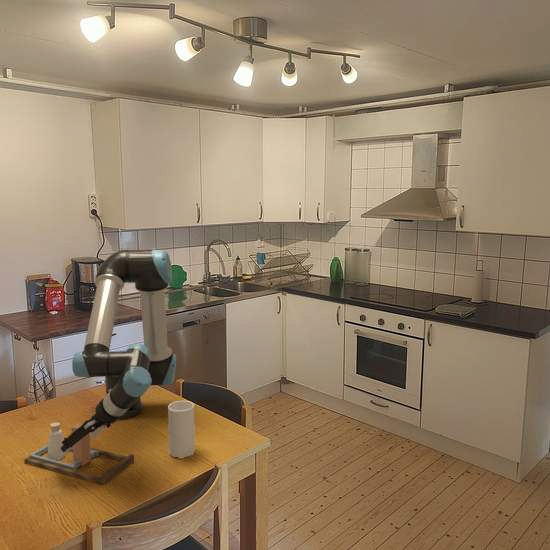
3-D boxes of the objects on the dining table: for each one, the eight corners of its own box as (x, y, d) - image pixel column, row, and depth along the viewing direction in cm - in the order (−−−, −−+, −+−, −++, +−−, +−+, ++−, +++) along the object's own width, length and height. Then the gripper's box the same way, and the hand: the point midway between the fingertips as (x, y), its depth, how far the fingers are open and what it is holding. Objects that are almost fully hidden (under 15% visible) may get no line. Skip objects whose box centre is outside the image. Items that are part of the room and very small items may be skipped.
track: (134, 461, 159) (133, 454, 159) (103, 484, 146) (102, 477, 146) (59, 443, 171) (59, 436, 170) (24, 462, 158) (24, 455, 158)
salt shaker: (48, 462, 159) (46, 429, 157) (47, 454, 163) (45, 422, 162) (66, 458, 161) (65, 425, 159) (65, 450, 166) (63, 418, 164)
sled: (98, 455, 162) (97, 420, 160) (74, 471, 153) (71, 434, 151) (55, 444, 169) (53, 410, 167) (29, 459, 160) (26, 423, 158)
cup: (170, 446, 169) (169, 400, 167) (195, 445, 170) (194, 400, 167) (167, 458, 161) (166, 411, 159) (194, 458, 162) (193, 410, 159)
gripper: (132, 382, 162) (97, 418, 170) (74, 412, 139) (37, 452, 147) (146, 400, 161) (110, 436, 169) (90, 434, 138) (51, 473, 146)
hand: (76, 444), depth 158 cm, fingers open, 13 cm apart
